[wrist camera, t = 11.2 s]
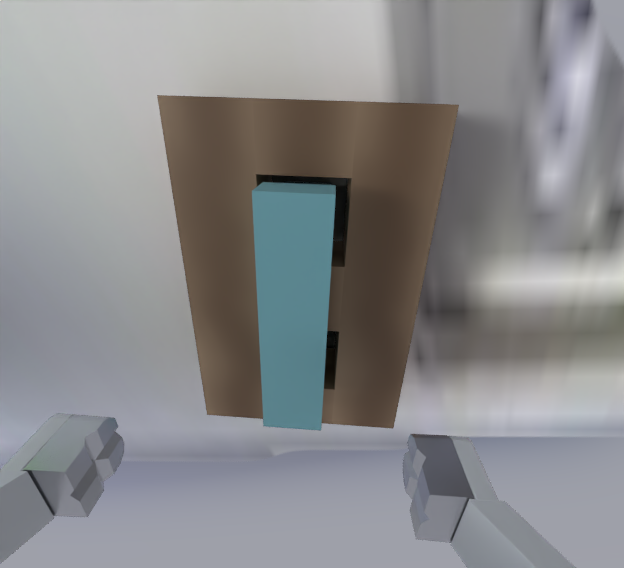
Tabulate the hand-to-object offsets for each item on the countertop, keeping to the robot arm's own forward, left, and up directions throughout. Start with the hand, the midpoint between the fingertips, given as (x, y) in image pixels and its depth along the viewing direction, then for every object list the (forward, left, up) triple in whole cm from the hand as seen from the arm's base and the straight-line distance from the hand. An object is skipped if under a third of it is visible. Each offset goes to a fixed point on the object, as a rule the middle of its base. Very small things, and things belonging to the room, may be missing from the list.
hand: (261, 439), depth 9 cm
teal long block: (0, 0, -13) cm, 13 cm away
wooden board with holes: (0, 0, -13) cm, 13 cm away
